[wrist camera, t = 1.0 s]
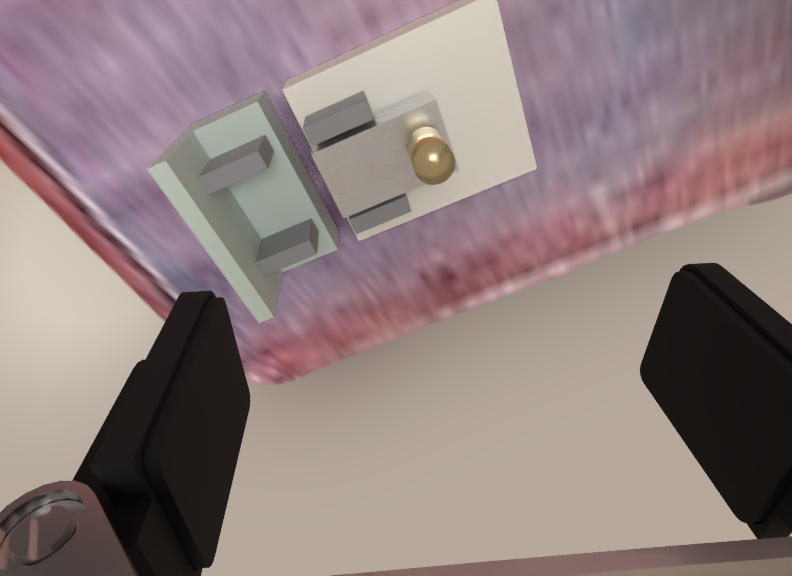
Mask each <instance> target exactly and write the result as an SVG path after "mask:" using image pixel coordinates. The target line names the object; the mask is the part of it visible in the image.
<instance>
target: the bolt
mask: <svg viewBox="0 0 792 576" xmlns="http://www.w3.org/2000/svg"><path fill="white" fill-rule="evenodd" d="M372 116H373V120H371V121H368V122H366V123H364V124H362V125H359V126H357V127H355V128H353V129H350V130H348V131H346V132H343V133H341V134H339V135H337V136H334V137H332V138H330V139H328V140H325V141H323V142H321V143H318V144H316V145H314V146H312V149H311V156H312V158H313V160H314V162H315V164H316V166H317V168H318V170H319V172H320V174H321V176H322V178H323V180H324V181H325V183H326V185H327V187H328V189H329V191H330V193H331V195H332V197H333V199H334V201H335V203H336V205H337V207H338V209H339V211H340V213H341V215H342V217H343V218H346V217H348V216H351V215H353V214H355V213H358V212H360V211H363V210H365V209H367V208H370V207H372V206H375V205H377V204H379V203H382V202H384V201H387V200H389V199H391V198H394V197H396V196H399V195H401V194H404V193H406V192H408V191H411V190H413V189H416V188H418V187H420V186H423V185H425V184H429V185H437V184H441V183H443V182H445V181H446V180H447V179H448V178H449V177H450V176H451V175H452V173H454V172H456V171H459V170H460V169H459V167H458V164H457V161H456V158H455V155H454V152H453V149H452V146H451V143H450V140H449V137H448V134H447V131H446V128H445V125H444V122H443V119H442V116H441V113H440V110H439V107H438V104H437V101H436V99H435V97H434V96H433V95H432V94H431V92H430V91H429V90H426V91H424V92H422V93H419V94H417V95H415V96H413V97H410V98H408V99H406V100H404V101H401V102H399V103H397V104H394V105H392V106H390V107H388V108H385V109H383V110H381V111H379V112H376V113H374V114H372Z"/></svg>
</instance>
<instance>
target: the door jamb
mask: <svg viewBox="0 0 792 576" xmlns="http://www.w3.org/2000/svg"><path fill="white" fill-rule="evenodd" d="M147 170H148V171H149V173H150V174H151V175H152V177H153V178H154V180H155V181H156V182H157V184H158V185H159V186H160V188H161V189H162V191H163V192H164V193H165V195H166V196H167V197H168V199H169V200H170V202H171V203H172V204H173V206H174V207H175V208H176V210H177V211H178V213H179V214H180V215H181V217H182V218H183V219H184V221H185V222H186V224H187V225H188V226H189V228H190V229H191V231H192V232H193V233H194V235H195V236H196V237H197V239H198V240H199V242H200V243H201V244H202V246H203V247H204V248H205V250H206V251H207V253H208V254H209V255H210V257H211V258H212V259H213V261H214V262H215V264H216V265H217V266H218V268H219V269H220V270H221V272H222V273H223V275H224V276H225V277H226V279H227V280H228V281H229V283H230V284H231V286H232V287H233V288H234V290H235V291H236V292H237V294H238V295H239V297H240V298H241V299H242V301H243V302H244V303H245V305H246V306H247V308H248V309H249V310H250V312H251V313H252V315H253V316H254V317H255V319H256V320H257V321H258V323H261V322H263V321H266V320H268V319H271V318H273V317H274V316H275V310H276V305H277V300H278V295H279V289H280V284H281V279H282V274H283V272H284V271H287V270H289V269H292V268H294V267H297V266H299V265H302V264H304V263H307V262H309V261H311V260H314V259H316V258H319V257H321V256H324V255H326V254H329V253H331V252H334V251H336V250H338V229H337V227H336V225H335V223H334V221H333V219H332V217H331V216H330V214H329V212H328V210H327V208H326V206H325V204H324V202H323V200H322V198H321V197H320V195H319V193H318V191H317V189H316V187H315V185H314V183H313V181H312V179H311V178H310V176H309V174H308V172H307V170H306V168H305V166H304V164H303V162H302V160H301V159H300V157H299V155H298V153H297V151H296V149H295V147H294V145H293V143H292V142H291V140H290V138H289V136H288V134H287V132H286V130H285V128H284V126H283V124H282V123H281V121H280V119H279V117H278V115H277V113H276V111H275V109H274V107H273V105H272V104H271V102H270V100H269V98H268V96H267V94H266V92H265V90H264V91H262V92H260V93H258V94H255V95H253V96H251V97H249V98H247V99H245V100H242V101H240V102H238V103H236V104H234V105H232V106H229V107H227V108H225V109H223V110H221V111H219V112H217V113H214V114H212V115H210V116H208V117H206V118H204V119H201V120H199V121H197V122H195V123H193V124H191V125H190V126H189V127H188V128H187V129H186V130H185V131H184V132H183V133H182V134H181V135H180V136H179V137H178V138H177V139H176V140H175V141H174V142H173V143H172V144H171V145H170V146H169V147H168V148H167V149H166V150H165V151H164V152H163V153H162V154H161V155H160V156H159V157H158V158H157V159H156V160H155V161H154V162H153V164H152V165H151V166H150V167H149V168H148V169H147Z"/></svg>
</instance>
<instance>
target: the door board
mask: <svg viewBox="0 0 792 576" xmlns="http://www.w3.org/2000/svg"><path fill="white" fill-rule="evenodd" d="M426 90H429V91H430V92H431V94H432V95H433V96H434V97H435V99H436V101H437V104H438V107H439V110H440V113H441V116H442V119H443V122H444V125H445V128H446V131H447V134H448V137H449V140H450V143H451V146H452V149H453V152H454V155H455V158H456V161H457V164H458V167H459V169H460V170H459V171H456V172H454V173H452V175H451V176H450V177H449V178H448V179H447V180H446V181H445V182H443V183H441V184H437V185H429V184H425V185H423V186H420V187H418V188H416V189H413V190H411V191H408V192H406V193H404V194H401V195H399V196H396V197H394V198H391V199H389V200H387V201H384V202H382V203H379V204H377V205H375V206H372V207H370V208H367V209H365V210H363V211H360V212H358V213H355V214H353V215H351V216H348V217H347V219H348V221H349V223H350V225H351V227H352V229H353V231H354V233H355V235H356V237H357V239H358V241H361V240H363V239H366V238H368V237H370V236H373V235H375V234H378V233H380V232H383V231H385V230H388V229H390V228H393V227H395V226H397V225H400V224H402V223H405V222H407V221H410V220H412V219H415V218H417V217H420V216H422V215H424V214H427V213H429V212H432V211H434V210H437V209H439V208H442V207H444V206H447V205H449V204H451V203H454V202H456V201H459V200H461V199H464V198H466V197H469V196H471V195H474V194H476V193H479V192H481V191H483V190H486V189H488V188H491V187H493V186H496V185H498V184H501V183H503V182H506V181H508V180H510V179H513V178H515V177H518V176H520V175H523V174H525V173H528V172H530V171H533V170H535V169H537V167H536V162H535V158H534V154H533V150H532V146H531V141H530V137H529V133H528V129H527V125H526V120H525V116H524V112H523V108H522V104H521V99H520V95H519V91H518V87H517V83H516V78H515V74H514V70H513V66H512V62H511V57H510V53H509V49H508V45H507V41H506V36H505V32H504V28H503V24H502V20H501V15H500V11H499V7H498V3H497V0H458V1H456V2H454V3H452V4H450V5H448V6H445V7H443V8H441V9H439V10H437V11H435V12H432V13H430V14H428V15H426V16H424V17H422V18H420V19H417V20H415V21H413V22H411V23H409V24H407V25H404V26H402V27H400V28H398V29H396V30H394V31H391V32H389V33H387V34H385V35H383V36H381V37H378V38H376V39H374V40H372V41H370V42H368V43H366V44H363V45H361V46H359V47H357V48H355V49H353V50H350V51H348V52H346V53H344V54H342V55H340V56H337V57H335V58H333V59H331V60H329V61H327V62H324V63H322V64H320V65H318V66H316V67H314V68H312V69H309V70H307V71H305V72H303V73H301V74H299V75H296V76H294V77H292V78H290V79H288V80H287V81H286V83H285V85H284V87H283V89H282V91H283V93H284V95H285V97H286V99H287V101H288V103H289V105H290V107H291V109H292V111H293V113H294V114H295V116H296V118H297V120H298V122H299V124H300V126H301V128H302V130H303V132H304V134H305V136H306V138H307V140H308V142H309V144H310V146H311V148H312V146H314V145H316V144H318V143H321V142H323V141H325V140H328V139H330V138H332V137H334V136H337V135H339V134H341V133H343V132H346V131H348V130H350V129H353V128H355V127H357V126H359V125H362V124H364V123H366V122H368V121H371V120H373V116H372V114H374V113H376V112H379V111H381V110H383V109H385V108H388V107H390V106H392V105H394V104H397V103H399V102H401V101H404V100H406V99H408V98H410V97H413V96H415V95H417V94H419V93H422V92H424V91H426Z"/></svg>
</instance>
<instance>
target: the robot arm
mask: <svg viewBox="0 0 792 576" xmlns="http://www.w3.org/2000/svg"><path fill="white" fill-rule="evenodd" d="M640 374H641V378H642V381H643V382H644V384H645V385H646V387H647V388H648V390H649V391H650V393H651V394H652V396H653V397H654V399H655V400H656V402H657V403H658V404H659V406H660V407H661V409H662V410H663V412H664V413H665V415H666V416H667V417H668V419H669V420H670V422H671V423H672V425H673V426H674V427H675V429H676V431H677V432H678V433H679V435H680V436H681V438H682V439H683V441H684V442H685V444H686V445H687V447H688V448H689V449H690V451H691V452H692V454H693V455H694V457H695V458H696V460H697V461H698V463H699V464H700V465H701V467H702V468H703V470H704V471H705V473H706V474H707V476H708V477H709V479H710V480H711V481H712V483H713V484H714V486H715V487H716V489H717V490H718V492H719V493H720V495H721V496H722V497H723V499H724V500H725V502H726V503H727V505H728V506H729V507H730V509H731V510H732V512H733V513H734V514H735V516H736V517H737V518H738V519H739V520H740V521H742V522H744V523H747V525H748V526H749V528H750V529H751V530H752V532H753V533H754V535H755V536H756V537H757V539H753V540H741V541H729V542H716V543H703V544H690V545H678V546H665V547H653V548H641V549H630V550H618V551H606V552H594V553H582V554H570V555H558V556H547V557H535V558H524V559H512V560H501V561H488V562H477V563H466V564H455V565H443V566H432V567H421V568H411V569H400V570H389V571H377V572H366V573H354V574H343V575H332V576H792V537H789V535H790V534H791V533H792V324H791V323H789V322H788V321H787V320H786V319H785V318H783V317H782V316H781V315H780V314H779V313H778V312H776V311H775V310H774V309H773V308H771V307H770V306H769V305H768V304H767V303H765V302H764V301H763V300H762V299H761V298H759V297H758V296H757V295H756V294H755V293H753V292H752V291H751V290H750V289H748V288H747V287H746V286H745V285H744V284H742V283H741V282H740V281H739V280H738V279H736V278H735V277H734V276H733V275H732V274H730V273H729V272H728V271H727V270H726V269H724V268H723V267H722V266H720V265H719V264H717V263H701V264H687V265H684V266H683V267H682V268H681V269H680V271H679V272H676V273H675V274H674V275H673V277H672V279H671V282H670V285H669V287H668V290H667V293H666V296H665V299H664V301H663V304H662V307H661V310H660V312H659V315H658V318H657V321H656V323H655V326H654V329H653V332H652V335H651V338H650V340H649V343H648V346H647V349H646V352H645V354H644V357H643V360H642V363H641V366H640ZM249 407H250V392H249V388H248V385H247V381H246V377H245V373H244V369H243V366H242V362H241V358H240V354H239V351H238V347H237V343H236V340H235V336H234V332H233V328H232V325H231V321H230V317H229V313H228V310H227V306H226V303H225V300H224V298H222V297H218V298H216V296H215V294H214V293H213V292H212V291H198V292H183V293H181V294H180V295H179V297H178V299H177V301H176V302H175V304H174V306H173V308H172V310H171V312H170V314H169V316H168V318H167V320H166V322H165V323H164V325H163V327H162V329H161V331H160V333H159V335H158V337H157V339H156V341H155V342H154V344H153V347H152V348H151V350H150V352H149V354H148V356H147V358H146V360H142V361H140V362H138V363H137V364H136V366H135V367H134V368H133V370H132V372H131V374H130V376H129V377H128V379H127V381H126V383H125V385H124V387H123V389H122V390H121V392H120V394H119V396H118V398H117V399H116V401H115V403H114V405H113V407H112V409H111V410H110V412H109V415H108V416H107V418H106V420H105V422H104V424H103V425H102V427H101V429H100V431H99V433H98V435H97V436H96V438H95V440H94V442H93V444H92V445H91V447H90V449H89V451H88V453H87V455H86V456H85V458H84V460H83V462H82V464H81V466H80V467H79V469H78V471H77V473H76V475H75V477H74V479H73V480H72V481H58V482H54V483H50V484H46V485H42V486H40V487H38V488H36V489H34V490H32V491H29V492H27V493H25V494H24V495H22V496H21V497H19V498H18V499H16V500H15V501H13V502H12V503H10V504H9V505H7V506H6V507H5V508H4V509H3V510H2V511H1V512H0V576H201V572H202V568H209V567H210V566H211V565H212V563H213V560H214V557H215V553H216V549H217V545H218V540H219V536H220V532H221V528H222V523H223V519H224V515H225V511H226V506H227V502H228V498H229V494H230V489H231V485H232V481H233V476H234V472H235V468H236V464H237V459H238V455H239V451H240V447H241V443H242V438H243V434H244V429H245V425H246V421H247V417H248V413H249Z"/></svg>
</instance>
